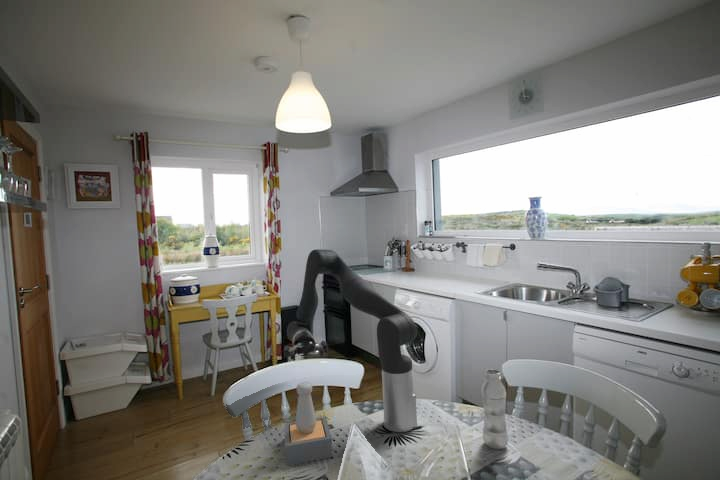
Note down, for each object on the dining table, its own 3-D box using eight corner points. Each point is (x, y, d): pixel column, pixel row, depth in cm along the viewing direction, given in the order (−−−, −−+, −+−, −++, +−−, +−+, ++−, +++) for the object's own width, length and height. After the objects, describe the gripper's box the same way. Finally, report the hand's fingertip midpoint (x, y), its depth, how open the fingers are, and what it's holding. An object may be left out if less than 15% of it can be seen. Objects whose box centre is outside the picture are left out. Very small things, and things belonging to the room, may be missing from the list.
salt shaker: (312, 436, 99) (310, 388, 98) (292, 435, 100) (290, 387, 100) (319, 425, 104) (317, 379, 104) (300, 424, 106) (298, 379, 105)
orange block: (321, 431, 107) (321, 420, 107) (326, 449, 99) (325, 436, 99) (290, 437, 106) (289, 425, 105) (291, 455, 97) (291, 442, 97)
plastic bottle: (482, 450, 97) (479, 375, 97) (483, 436, 104) (480, 366, 103) (509, 454, 95) (506, 377, 95) (508, 440, 101) (505, 368, 101)
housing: (326, 433, 109) (325, 416, 109) (332, 456, 98) (331, 438, 98) (285, 440, 107) (284, 423, 107) (286, 465, 95) (285, 446, 95)
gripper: (282, 334, 131) (283, 346, 115) (322, 329, 134) (329, 341, 118) (283, 355, 131) (285, 370, 115) (324, 350, 134) (330, 364, 118)
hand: (307, 355), depth 117 cm, fingers open, 8 cm apart
